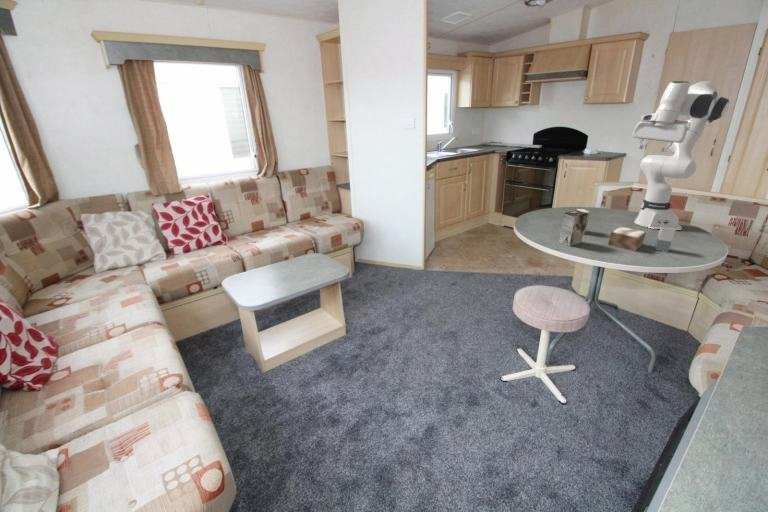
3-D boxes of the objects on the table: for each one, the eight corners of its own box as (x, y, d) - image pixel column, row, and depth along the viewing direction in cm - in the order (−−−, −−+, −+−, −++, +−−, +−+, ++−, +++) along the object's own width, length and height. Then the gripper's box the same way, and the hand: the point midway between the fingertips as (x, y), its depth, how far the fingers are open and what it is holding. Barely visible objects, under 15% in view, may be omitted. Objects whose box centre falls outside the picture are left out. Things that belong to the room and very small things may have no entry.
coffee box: (570, 239, 188) (576, 209, 182) (581, 243, 183) (588, 213, 177) (558, 242, 185) (564, 212, 178) (569, 246, 179) (576, 215, 173)
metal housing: (666, 248, 177) (673, 227, 173) (667, 252, 173) (675, 230, 168) (653, 246, 179) (660, 225, 175) (655, 250, 175) (662, 229, 171)
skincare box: (571, 229, 202) (576, 208, 197) (578, 229, 202) (583, 208, 197) (577, 233, 196) (582, 212, 191) (585, 233, 196) (590, 212, 191)
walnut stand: (642, 244, 181) (646, 231, 179) (635, 251, 174) (639, 237, 171) (615, 238, 189) (619, 226, 187) (608, 244, 182) (611, 231, 179)
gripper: (694, 122, 158) (679, 154, 162) (642, 118, 172) (630, 148, 176) (690, 119, 154) (676, 152, 158) (637, 115, 168) (625, 146, 172)
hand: (651, 150), depth 167 cm, fingers open, 8 cm apart
